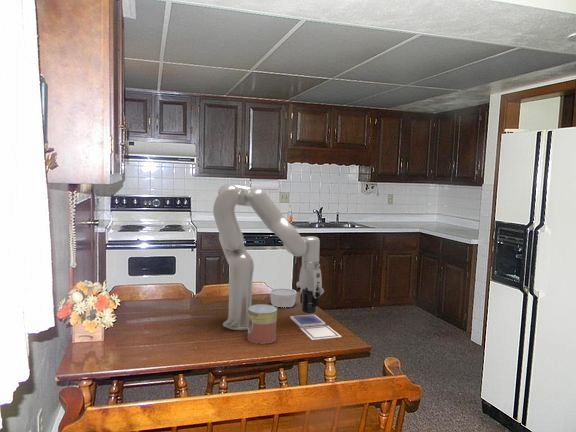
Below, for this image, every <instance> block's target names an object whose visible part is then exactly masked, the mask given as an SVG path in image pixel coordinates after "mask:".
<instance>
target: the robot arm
mask: <svg viewBox="0 0 576 432" xmlns="http://www.w3.org/2000/svg"><path fill="white" fill-rule="evenodd" d="M236 206H243V207H251V208H252V210H253V211H254V212H255V214H256V215H257V216H258V217H259V218H260V220H261V221H262V223H263V224H264V225H265V226H266V228H267V229H269V230H270V231H271V233H274V235H276V236H277V237H278V239H280V240H281V241H282V243H283V247H284V250H286V251H287V252H288V253H289V254H291V255H292V256H294V257H298V258H299V257H301V267H300V270H299V278H298V279H299V280H298V281H297V282H295V283H296V287H297V289H298V292H299V294H300V301H299V302H300V303H301V304H302V292H303V290H306V289H305V288H306V287H307V289H308V291H311V292H312V293H313V296H314V298H313V305H312V306H313V307H317V308H318V307H319V301H320V298H321V296H323V294H324V292H325V290H324V288H323V287H322V286H323V283H322V281H323V280H322V271H321V264H320V247H321V245H320V243H321V242H320V238H319V237H317V236H313V235H312V236H309V235H308V236H301V235H300V233H299V232H298V230H297V229H296V228H295V227H294V226H293V225H292V224H291V222H290V221H289V220H288V219H287V217H286V216H285V215H284V213H282V212H281V210H280V209H279V208H278V206H277V205H276V204H275V202H274V201H273V200H272V198H271V197H270V195H268V193H266V191H265V190H263V188H259V187H253V186H252V187H251V186H244V185H239V184H233V183H232V184H231V183H225V184H223V185H221V186H220V187H219V188H218V190H217V197H216V198H215V200H214V203H213V207H212V209H213V210H212V212H213V217H214V221H215V225H216V227H217V230H218V240H219V243H220V245H221V249H222V252H223V254H224V256H225V259H226V262H227V264H228V266H229V268H230V269H229V270H230V271H229V283H228V284H229V285H228V316H227V319H226V320H225V321H224V322H222V326H223V327H224V328H225V329H228V330H233V331H248V312H249V310H248V308H249V307H250V306H252V302H253V300H252V296H253V294H252V293H253V277H254V269H255V268H254V266H255V265H254V263H255V262H254V260H253V259H254V258H252V256H251V255H250V253H248V251H247V249H246V247H245V243H244V241H245V240H244V234H243V233H242V230H241V228H240V224H239V222H238V219H237V216H236V211H235V209H236ZM315 292H316V293H315Z"/></svg>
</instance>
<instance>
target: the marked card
mask: <svg viewBox="0 0 576 432" xmlns="http://www.w3.org/2000/svg"><path fill="white" fill-rule="evenodd" d="M299 329H300V330H301V331H302V332H303V333H304V334H305V335H306V336H307V337H308V338H309V339H310V340H311V341H317V340H319V341H320V340H327V339H338V338H342V335H340V334H339V333H338V332H337V331H336V330H334V328H332V327H330V325H321V326H310V327H299Z"/></svg>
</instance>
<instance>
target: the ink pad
mask: <svg viewBox="0 0 576 432" xmlns="http://www.w3.org/2000/svg"><path fill="white" fill-rule="evenodd" d="M289 319H291V321H292V322H294V323H295V325H297V326H298V328H306V327H309V326H310V327H317V326H327V325H326V322H325V321H323V320H322V318H320V317H318V315H316V314H315V313H313V314H305V315H291V316H290V317H289Z"/></svg>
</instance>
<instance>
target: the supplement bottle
mask: <svg viewBox="0 0 576 432" xmlns="http://www.w3.org/2000/svg"><path fill="white" fill-rule="evenodd" d="M305 289H306V290H303V292H302V303H301V304H300V305H301V308H300V309H301V312H302V313H305V314H315V313H316V312H317V309H318V306H317V307H313V306H312V305H313V298H314V296H313V293H312V292H311V291H308V289H307V287H306V288H305ZM315 293H316V292H315Z"/></svg>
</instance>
